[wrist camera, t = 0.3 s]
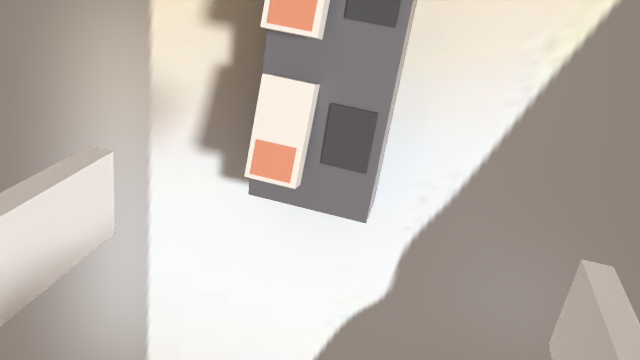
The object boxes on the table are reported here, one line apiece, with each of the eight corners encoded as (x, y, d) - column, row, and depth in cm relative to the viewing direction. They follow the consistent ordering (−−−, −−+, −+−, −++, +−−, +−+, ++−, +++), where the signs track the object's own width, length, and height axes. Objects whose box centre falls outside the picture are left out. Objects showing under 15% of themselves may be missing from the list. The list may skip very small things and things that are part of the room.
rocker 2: (268, 73, 38) (261, 73, 36) (320, 84, 37) (315, 84, 36) (251, 173, 39) (243, 176, 38) (300, 185, 39) (294, 189, 37)
